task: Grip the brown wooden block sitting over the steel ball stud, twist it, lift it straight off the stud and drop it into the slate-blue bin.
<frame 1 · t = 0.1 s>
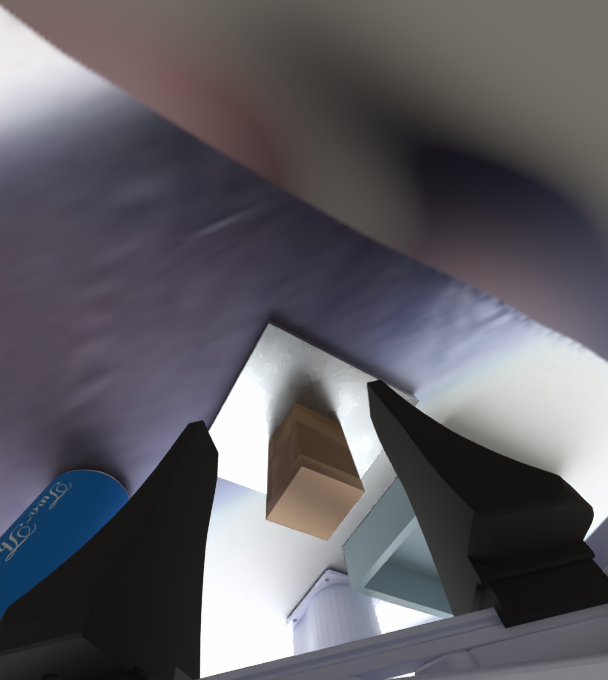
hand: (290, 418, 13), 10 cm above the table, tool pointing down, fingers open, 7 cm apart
brown wooden block: (304, 433, 24), point 1 cm above the table, touching stud base
bin: (446, 517, 30), on the table
stud base: (303, 426, 25), on the table
beverage can: (95, 491, 26), on the table
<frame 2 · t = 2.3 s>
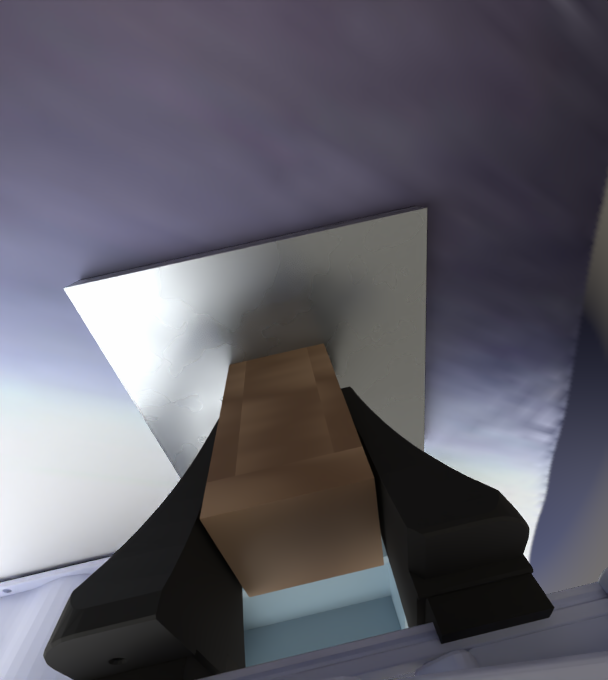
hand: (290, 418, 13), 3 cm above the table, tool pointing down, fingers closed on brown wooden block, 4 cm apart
brown wooden block: (287, 391, 14), point 1 cm above the table, touching gripper, stud base
bin: (300, 568, 24), on the table
stud base: (285, 379, 15), on the table
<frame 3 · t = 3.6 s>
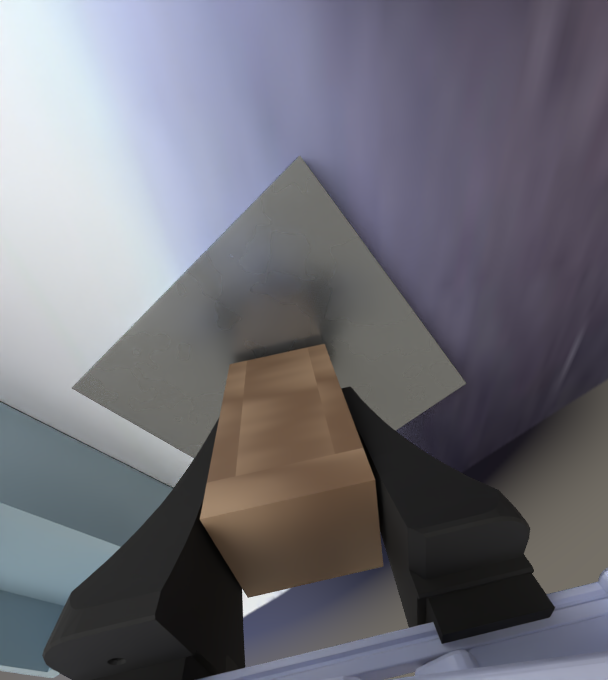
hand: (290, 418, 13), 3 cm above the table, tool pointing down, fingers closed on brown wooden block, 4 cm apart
brown wooden block: (287, 391, 14), point 1 cm above the table, touching gripper
bin: (35, 523, 19), on the table
stud base: (285, 374, 16), on the table
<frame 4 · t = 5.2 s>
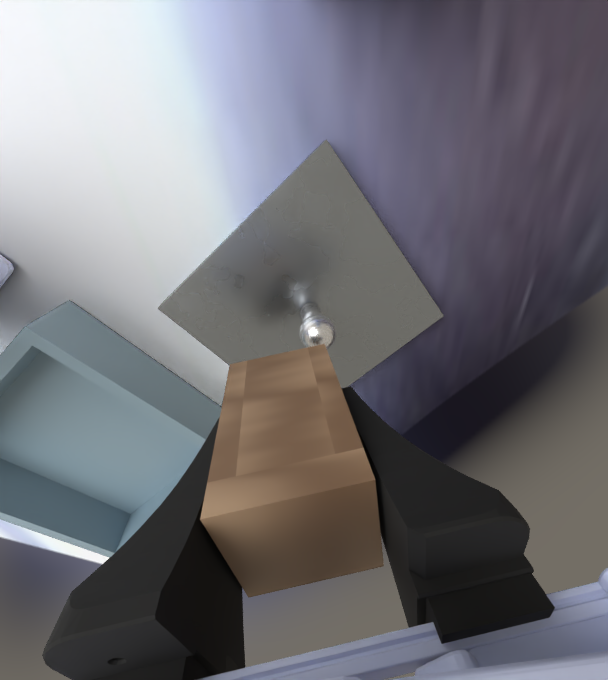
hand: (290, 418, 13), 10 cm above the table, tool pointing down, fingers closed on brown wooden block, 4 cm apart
brown wooden block: (287, 391, 14), point 8 cm above the table, touching gripper
bin: (109, 430, 24), on the table
stud base: (308, 307, 21), on the table
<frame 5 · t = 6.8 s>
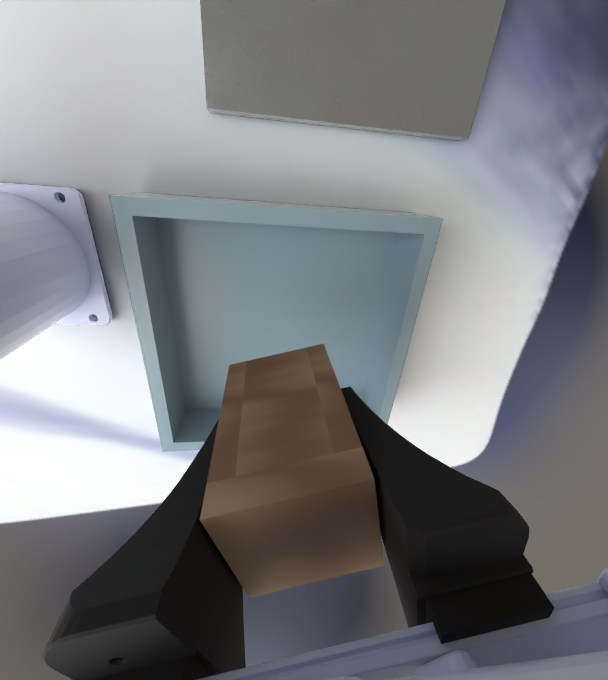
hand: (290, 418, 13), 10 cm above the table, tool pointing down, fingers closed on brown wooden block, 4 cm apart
brown wooden block: (286, 391, 14), point 8 cm above the table, touching gripper
bin: (279, 324, 21), on the table
when the fingers open (4 cm above the table, at t = 8.3 s): brown wooden block drops 1 cm, resting on bin.
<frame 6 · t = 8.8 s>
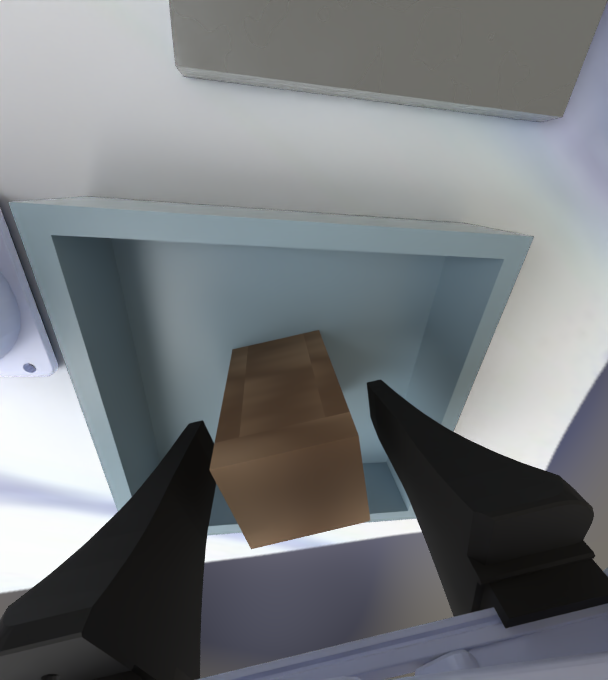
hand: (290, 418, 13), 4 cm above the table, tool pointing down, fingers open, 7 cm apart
brown wooden block: (285, 375, 16), point 1 cm above the table, touching bin
bin: (284, 368, 16), on the table
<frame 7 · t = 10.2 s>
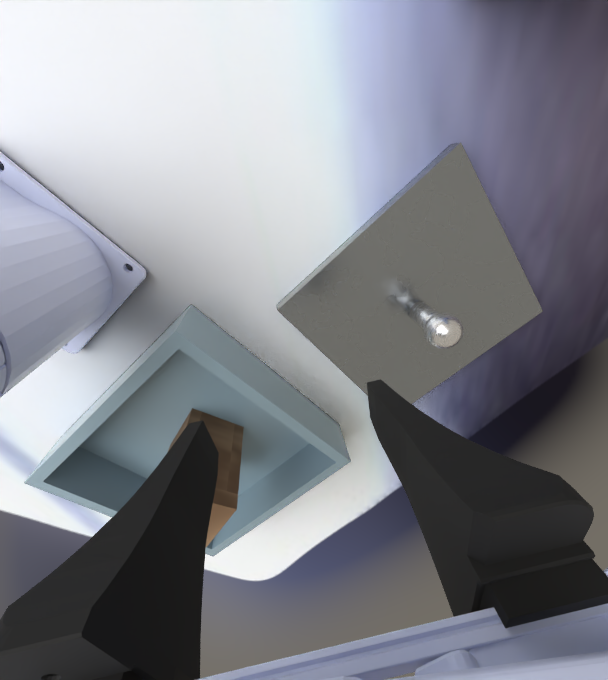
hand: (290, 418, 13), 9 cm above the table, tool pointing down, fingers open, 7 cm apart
brown wooden block: (206, 436, 24), point 1 cm above the table, touching bin
bin: (208, 430, 25), on the table
stud base: (412, 305, 22), on the table
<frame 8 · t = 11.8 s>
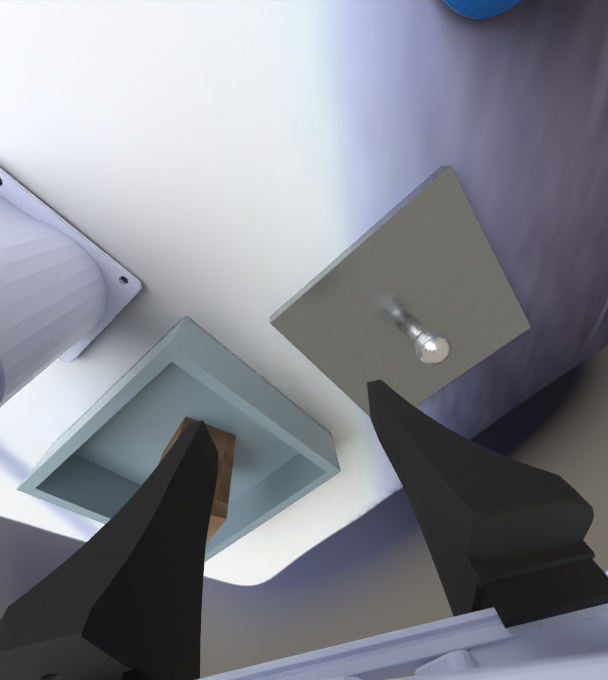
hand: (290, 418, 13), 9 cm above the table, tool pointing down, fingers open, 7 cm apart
brown wooden block: (199, 443, 24), point 1 cm above the table, touching bin
bin: (200, 438, 25), on the table
stud base: (403, 319, 22), on the table
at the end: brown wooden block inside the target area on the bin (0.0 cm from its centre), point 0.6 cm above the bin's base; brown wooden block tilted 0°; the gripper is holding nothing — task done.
